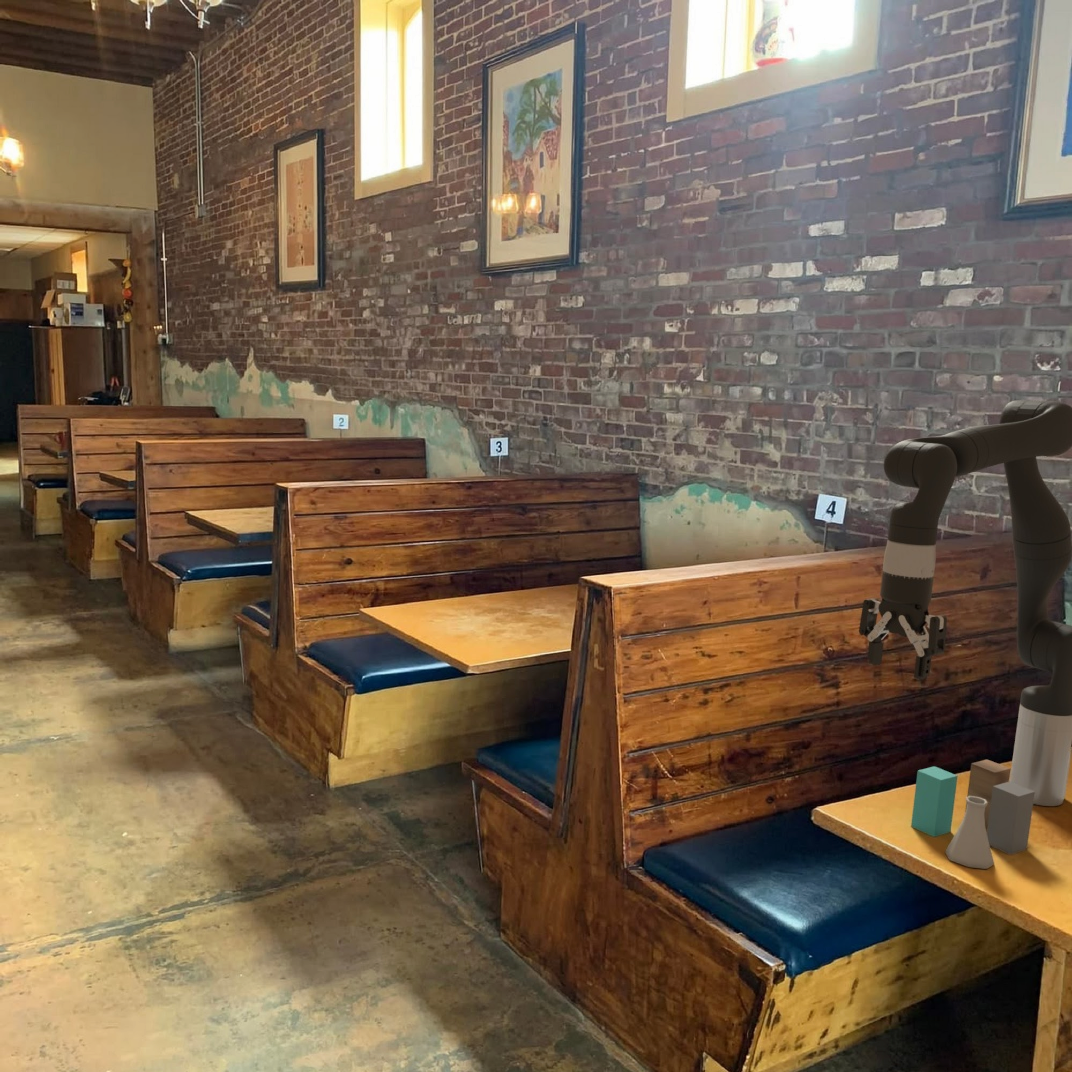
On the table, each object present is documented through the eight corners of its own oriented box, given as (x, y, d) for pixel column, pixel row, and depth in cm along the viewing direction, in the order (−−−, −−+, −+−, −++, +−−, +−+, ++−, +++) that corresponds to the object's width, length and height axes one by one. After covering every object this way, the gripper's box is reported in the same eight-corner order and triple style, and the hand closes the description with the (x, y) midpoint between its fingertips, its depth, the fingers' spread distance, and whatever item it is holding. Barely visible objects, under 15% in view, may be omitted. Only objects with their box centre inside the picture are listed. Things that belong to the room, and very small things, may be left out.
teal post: (927, 821, 172) (934, 766, 170) (950, 831, 168) (957, 775, 166) (911, 826, 169) (917, 770, 168) (933, 837, 166) (940, 780, 164)
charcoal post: (1001, 838, 167) (1009, 781, 165) (1026, 849, 163) (1034, 791, 161) (985, 843, 164) (993, 786, 163) (1010, 854, 161) (1018, 796, 159)
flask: (942, 862, 157) (949, 802, 155) (947, 844, 163) (954, 787, 162) (992, 874, 153) (1000, 813, 152) (995, 856, 160) (1003, 797, 158)
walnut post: (980, 812, 177) (986, 759, 175) (1003, 822, 173) (1010, 768, 171) (964, 817, 174) (971, 763, 173) (987, 828, 170) (995, 772, 169)
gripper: (963, 578, 150) (951, 681, 153) (886, 561, 162) (875, 657, 165) (932, 581, 146) (920, 687, 149) (855, 563, 158) (845, 662, 161)
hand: (896, 671), depth 157 cm, fingers open, 8 cm apart
